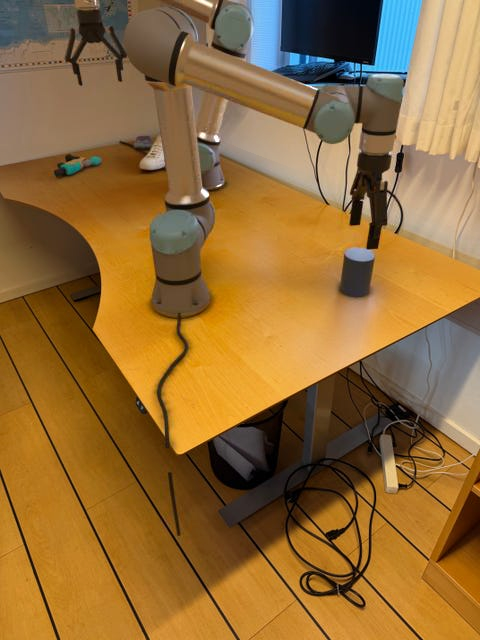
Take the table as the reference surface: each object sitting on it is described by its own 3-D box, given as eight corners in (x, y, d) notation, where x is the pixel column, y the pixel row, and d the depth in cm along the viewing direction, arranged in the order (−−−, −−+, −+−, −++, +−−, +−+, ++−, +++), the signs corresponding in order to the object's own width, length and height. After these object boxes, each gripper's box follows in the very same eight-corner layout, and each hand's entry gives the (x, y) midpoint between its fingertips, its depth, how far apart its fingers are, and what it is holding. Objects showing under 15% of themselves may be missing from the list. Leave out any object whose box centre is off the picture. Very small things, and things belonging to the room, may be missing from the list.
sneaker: (133, 173, 208) (129, 144, 201) (161, 153, 230) (158, 127, 223) (155, 175, 205) (151, 146, 198) (180, 155, 227) (178, 129, 220)
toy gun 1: (34, 165, 203) (60, 171, 198) (76, 150, 222) (101, 154, 216) (36, 176, 206) (62, 181, 200) (78, 159, 225) (103, 164, 219)
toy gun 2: (175, 143, 244) (165, 152, 232) (140, 141, 247) (129, 150, 235) (174, 135, 242) (164, 144, 230) (139, 134, 245) (128, 142, 233)
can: (374, 294, 128) (380, 259, 121) (347, 299, 126) (352, 263, 120) (360, 280, 134) (366, 245, 127) (335, 284, 132) (339, 249, 126)
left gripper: (413, 167, 98) (395, 258, 111) (372, 135, 118) (361, 215, 131) (378, 169, 98) (364, 260, 110) (343, 137, 118) (334, 217, 130)
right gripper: (49, 11, 143) (65, 88, 155) (130, 8, 152) (139, 81, 164) (45, 10, 148) (61, 84, 161) (123, 7, 157) (132, 78, 170)
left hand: (362, 236), depth 120 cm, fingers open, 13 cm apart
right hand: (100, 83), depth 162 cm, fingers open, 13 cm apart
